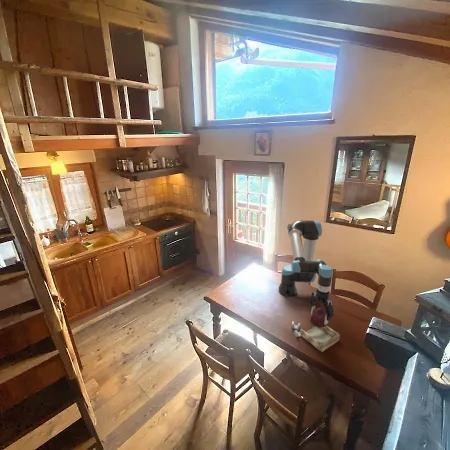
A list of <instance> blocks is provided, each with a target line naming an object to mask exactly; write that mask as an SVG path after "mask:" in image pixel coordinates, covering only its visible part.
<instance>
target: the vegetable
mask: <svg viewBox="0 0 450 450" xmlns="http://www.w3.org/2000/svg"><path fill="white" fill-rule="evenodd" d="M325 316H326V312H325V309H324V308H322V307H321V306H320V307H317V308H315V310H314V312H313V313H312V315H311V314H310V320H309V322H310V323H311V324H312V325H313V327H315V326H316V327H319V328H322V327H325V326H326V325H327V326H328V323H327V324H326V325H325V324H324V322H325Z"/></svg>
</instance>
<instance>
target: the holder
mask: <svg viewBox="0 0 450 450" xmlns="http://www.w3.org/2000/svg"><path fill="white" fill-rule="evenodd" d="M300 329H301V332H300V331H299V332H300V334H301V335H302V336H301V337H302V338H303V339H304V340H306V341H307V342H308V343H310V345H312V346H314V347H315V348H316V349H317V350H318V351H320V352H321V353H324V352H325V351H326V350H328V349H329V348H330V347H332V346H333V345H335V344H336V343H338V342H339V341H340V339H341V337H340V336H341V334H340V333H339V332H337V331H335V330H334V329H332V327H330V326H328V324H327V325H326V326H325V327H322V328H319V327H316V326H313V327H312V328H310V329H308V330H307V331H305V329H302V328H300Z"/></svg>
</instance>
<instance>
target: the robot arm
mask: <svg viewBox="0 0 450 450" xmlns="http://www.w3.org/2000/svg"><path fill="white" fill-rule="evenodd" d="M322 228H323V227H322V223H321V221H319V220H308V219H307V220H302V219H299V220H296V221H294V222H292V224H291V225H290V226H289V228H288V232H287V234H288V238H290V245H291V250H292V251H291V252H292V256H293V260H292V261H291V263H290V264H287V265H284V266H282V269H281V279H280V281H281V282H280V284H279V286H278V292H279V294H281V295H282V296H284V297H295V296H296V295H297V292H298V290H297V289H298V288H297V286H296V283H306V284H307V283H308V284H309V283H310V284H311V283H314V282H315V281H316V278H317V277H318V278H317V284H316V290H315V291H312V292H311V296H310V298H309V301H308V305H310V310H311V311H310V316H311V315H312V313H313V312H314V310H315V309H316V304H317V303H318V302H319V303H321V304H322V306H323V309H324V312H325V313H326V316H325V322H324V324H325V325H326V324H327V325H328V323H329V321H330V318H332V317H334V315H335V314H334V305H333V304H334V302H333V301H332V300H329V297H330V293H331V285H332V277H333V272H334V269H333V267H331V266H330V265H328V264H327V263H326V262H325V260H324V259H321V258H318V259H315V253H316V251H315V250H316V243H317V240H319V237H321V236H322V235H323V229H322ZM302 238H303V239H304V240H302ZM303 241H304V242H303ZM314 259H315V260H314ZM315 297H316V299H315Z"/></svg>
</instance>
